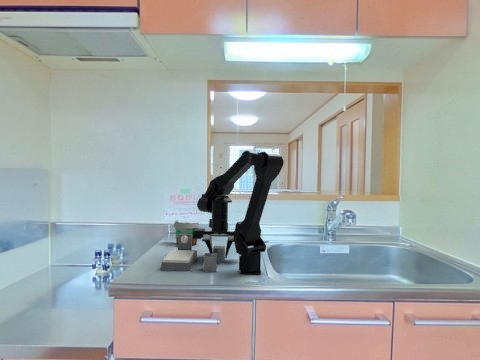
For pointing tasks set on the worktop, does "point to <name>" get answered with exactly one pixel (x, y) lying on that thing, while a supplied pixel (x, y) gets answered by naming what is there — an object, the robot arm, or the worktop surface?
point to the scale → (181, 255)
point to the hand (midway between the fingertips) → (219, 257)
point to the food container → (185, 230)
